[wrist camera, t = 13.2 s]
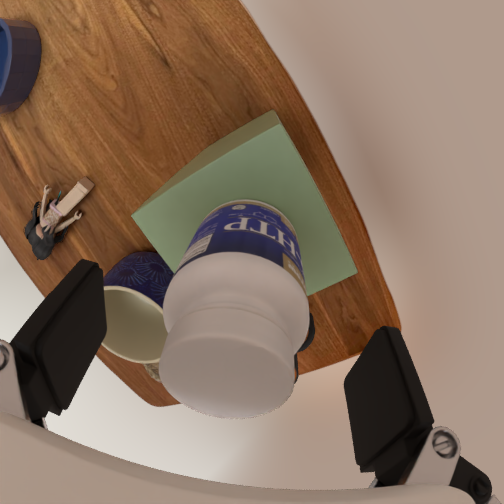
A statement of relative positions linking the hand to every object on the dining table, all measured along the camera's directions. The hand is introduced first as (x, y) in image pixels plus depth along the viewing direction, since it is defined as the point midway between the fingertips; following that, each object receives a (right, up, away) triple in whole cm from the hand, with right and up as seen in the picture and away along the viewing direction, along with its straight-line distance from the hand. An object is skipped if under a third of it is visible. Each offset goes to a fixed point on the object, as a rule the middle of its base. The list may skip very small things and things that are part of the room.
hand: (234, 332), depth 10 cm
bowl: (-36, +30, +19) cm, 51 cm away
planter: (-14, -1, +35) cm, 37 cm away
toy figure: (-27, +9, +30) cm, 42 cm away
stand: (+1, +13, +26) cm, 29 cm away
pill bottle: (0, +3, +6) cm, 7 cm away
